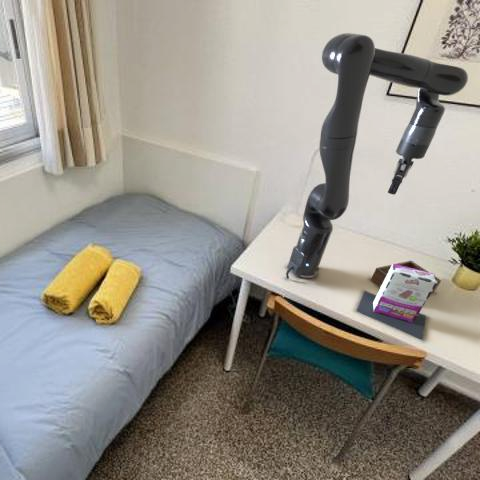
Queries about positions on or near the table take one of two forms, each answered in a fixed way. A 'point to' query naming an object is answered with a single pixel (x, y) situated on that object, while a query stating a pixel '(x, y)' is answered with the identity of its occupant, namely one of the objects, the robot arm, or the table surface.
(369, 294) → the desk mat
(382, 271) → the desk box
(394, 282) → the candy bar box
